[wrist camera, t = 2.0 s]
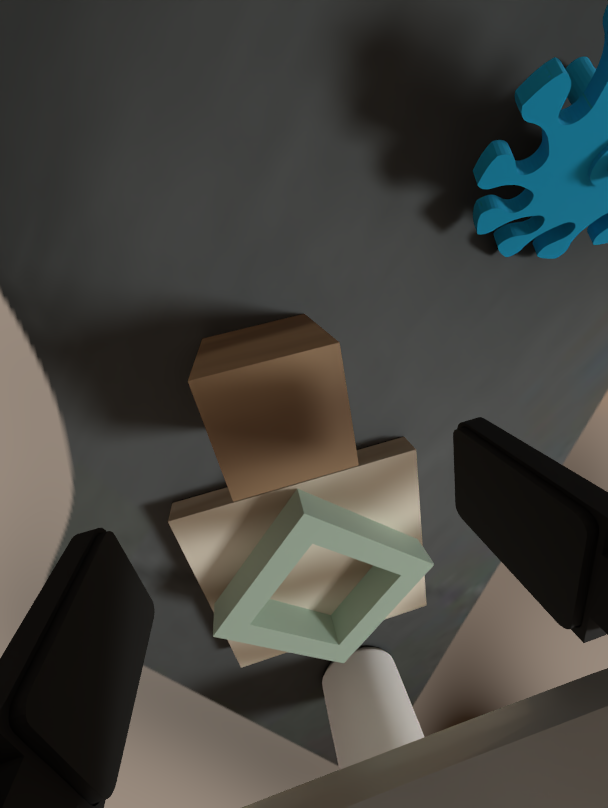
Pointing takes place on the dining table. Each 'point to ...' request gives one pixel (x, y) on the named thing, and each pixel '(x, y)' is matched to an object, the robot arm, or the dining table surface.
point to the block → (274, 404)
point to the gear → (552, 162)
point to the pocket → (279, 553)
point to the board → (319, 567)
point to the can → (368, 706)
